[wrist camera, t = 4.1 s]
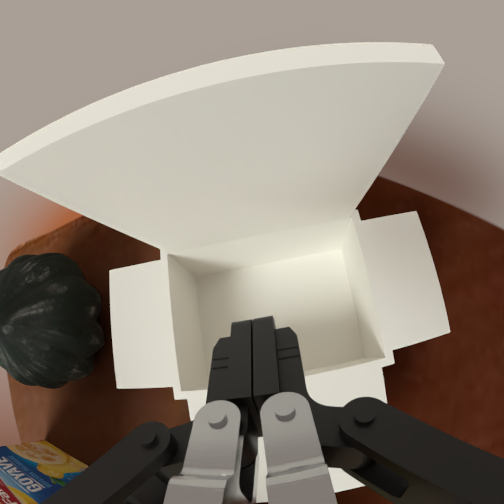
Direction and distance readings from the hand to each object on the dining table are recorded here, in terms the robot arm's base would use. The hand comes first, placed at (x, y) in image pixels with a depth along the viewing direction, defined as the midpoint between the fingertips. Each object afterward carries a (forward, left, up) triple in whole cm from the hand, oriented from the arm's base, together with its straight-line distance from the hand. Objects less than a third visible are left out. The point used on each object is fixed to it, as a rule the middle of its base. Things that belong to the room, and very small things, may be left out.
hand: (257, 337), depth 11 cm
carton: (0, +2, -18) cm, 18 cm away
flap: (0, -9, -10) cm, 14 cm away
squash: (+24, -5, -19) cm, 31 cm away
